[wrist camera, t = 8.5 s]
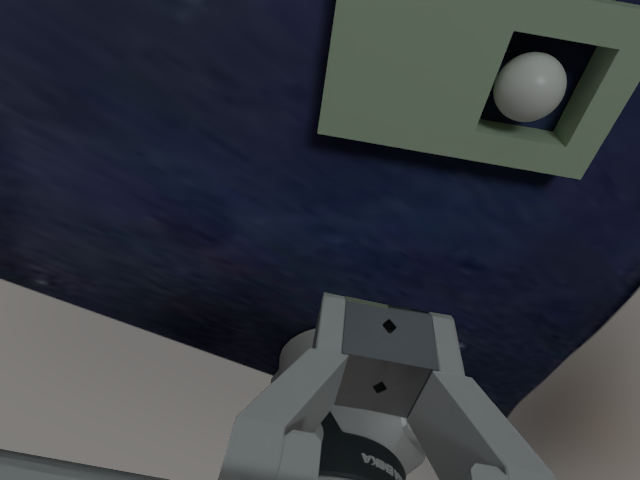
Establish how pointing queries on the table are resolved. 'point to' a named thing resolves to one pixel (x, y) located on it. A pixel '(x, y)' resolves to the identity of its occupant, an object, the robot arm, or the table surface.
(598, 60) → the putting board
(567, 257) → the table surface
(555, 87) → the ball
